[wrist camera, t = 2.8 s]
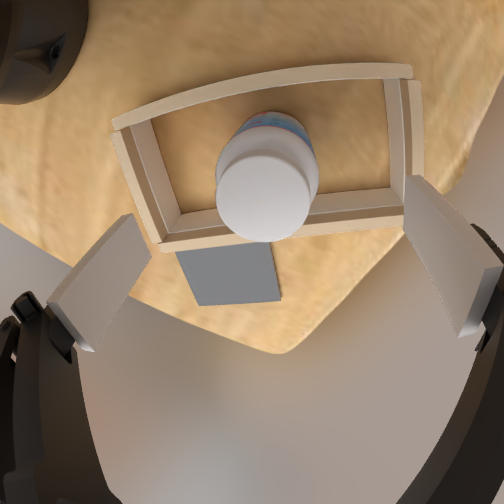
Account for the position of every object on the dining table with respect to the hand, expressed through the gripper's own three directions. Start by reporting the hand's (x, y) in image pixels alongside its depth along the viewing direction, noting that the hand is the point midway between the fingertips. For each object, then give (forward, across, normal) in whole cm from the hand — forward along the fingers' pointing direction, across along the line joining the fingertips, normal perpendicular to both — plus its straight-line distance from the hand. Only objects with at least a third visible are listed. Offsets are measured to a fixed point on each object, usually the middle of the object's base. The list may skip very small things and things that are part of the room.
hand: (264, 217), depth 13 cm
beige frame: (+12, 0, 0) cm, 12 cm away
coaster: (+12, -7, -12) cm, 18 cm away
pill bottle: (+12, 0, 0) cm, 12 cm away
